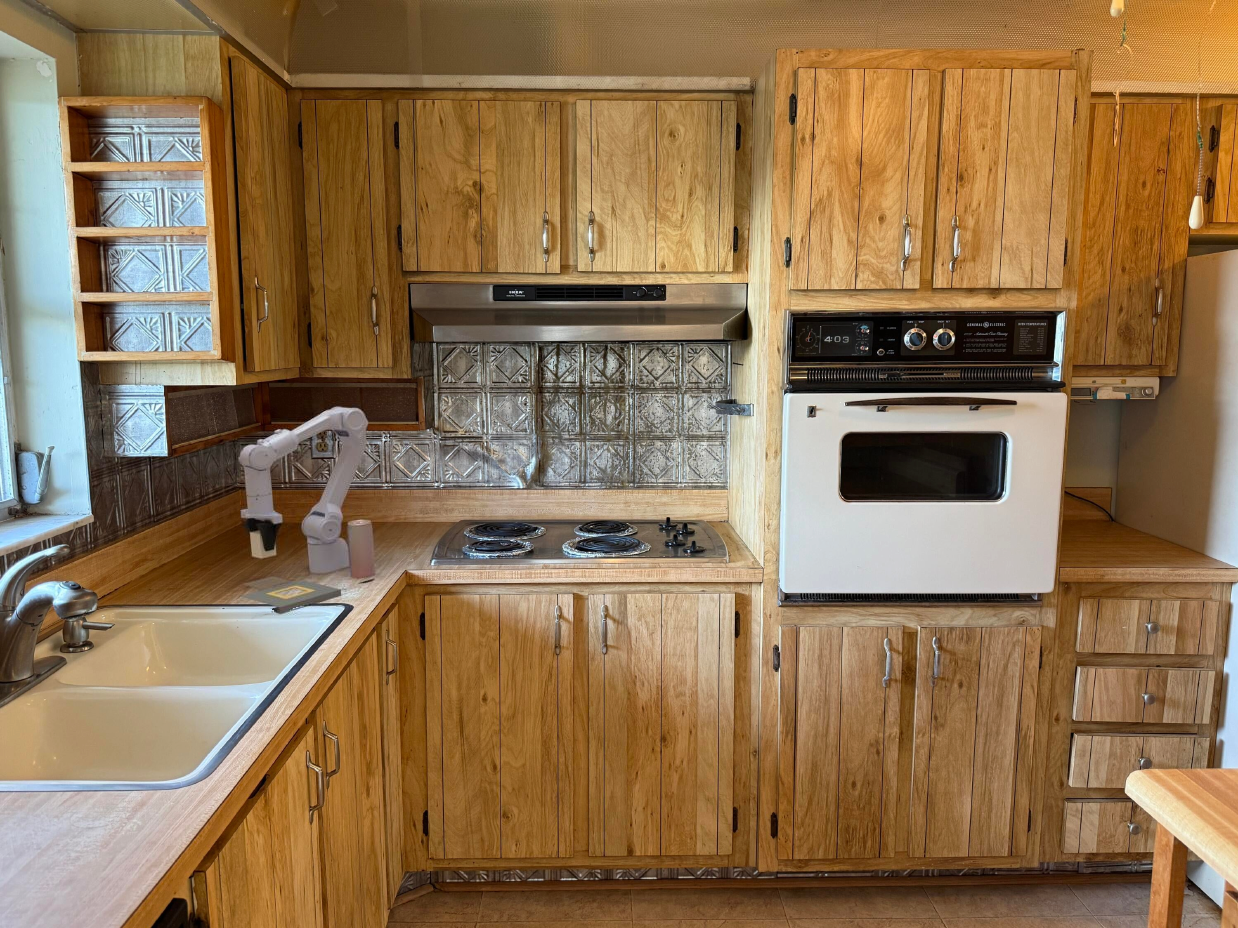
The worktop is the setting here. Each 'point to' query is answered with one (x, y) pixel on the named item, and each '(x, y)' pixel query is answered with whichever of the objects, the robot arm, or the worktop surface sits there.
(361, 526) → the beverage can
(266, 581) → the tab
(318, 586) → the hole board
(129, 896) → the worktop surface
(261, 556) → the peg
